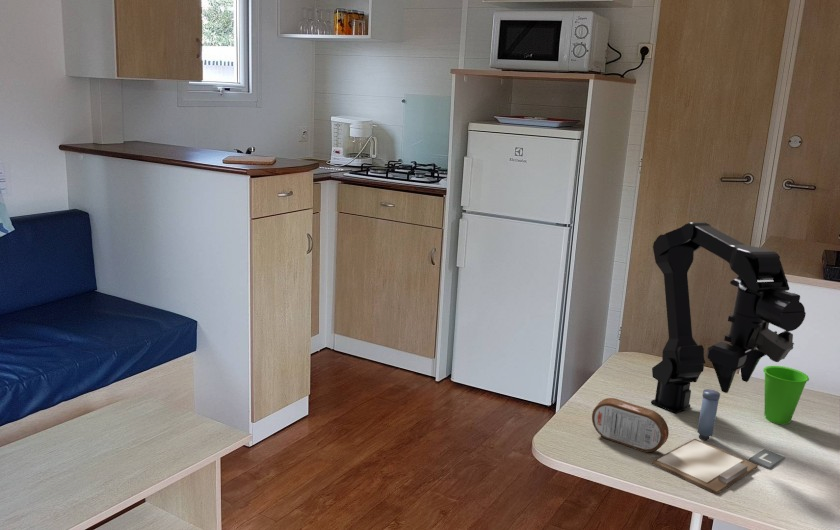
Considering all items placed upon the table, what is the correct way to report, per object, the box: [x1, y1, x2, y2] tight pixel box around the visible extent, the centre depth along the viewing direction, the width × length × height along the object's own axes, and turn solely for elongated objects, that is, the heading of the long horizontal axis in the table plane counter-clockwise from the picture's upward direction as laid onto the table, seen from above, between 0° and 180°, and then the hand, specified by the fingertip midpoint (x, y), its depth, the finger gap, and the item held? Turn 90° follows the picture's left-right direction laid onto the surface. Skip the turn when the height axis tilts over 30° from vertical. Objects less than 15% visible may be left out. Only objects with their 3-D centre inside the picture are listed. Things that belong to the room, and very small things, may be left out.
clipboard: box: [651, 438, 759, 495], centre depth 137 cm, size 13×16×2 cm
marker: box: [697, 388, 721, 441], centre depth 147 cm, size 3×3×10 cm
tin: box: [591, 397, 670, 453], centre depth 143 cm, size 15×3×8 cm, turn 54°
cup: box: [762, 365, 810, 425], centre depth 158 cm, size 9×9×11 cm
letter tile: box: [748, 448, 786, 470], centre depth 141 cm, size 4×7×1 cm, turn 131°
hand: (735, 386), depth 144 cm, fingers open, 9 cm apart
